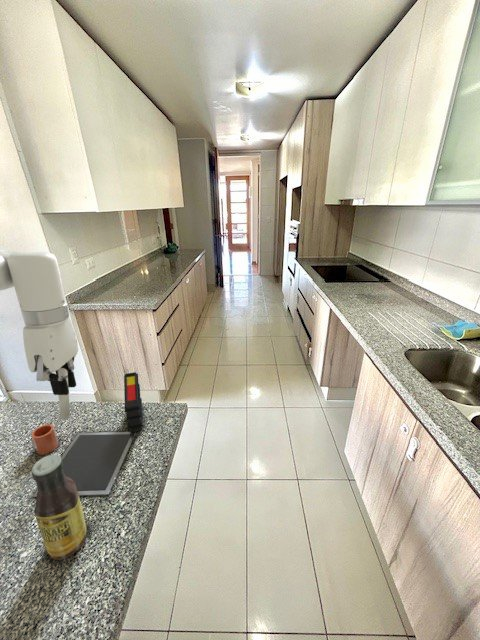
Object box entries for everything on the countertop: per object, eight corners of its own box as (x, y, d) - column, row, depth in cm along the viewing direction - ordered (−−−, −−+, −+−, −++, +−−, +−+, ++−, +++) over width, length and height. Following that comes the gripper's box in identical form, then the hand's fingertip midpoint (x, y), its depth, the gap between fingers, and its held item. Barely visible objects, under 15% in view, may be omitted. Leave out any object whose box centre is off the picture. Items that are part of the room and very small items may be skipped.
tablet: (33, 499, 56) (32, 495, 56) (78, 435, 73) (78, 432, 72) (108, 497, 57) (108, 493, 56) (136, 434, 73) (136, 431, 73)
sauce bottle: (40, 563, 46) (6, 482, 39) (63, 524, 51) (36, 448, 44) (78, 563, 46) (50, 482, 39) (96, 524, 51) (75, 448, 44)
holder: (33, 456, 66) (26, 438, 64) (45, 442, 70) (39, 424, 68) (51, 455, 66) (45, 437, 64) (62, 441, 71) (57, 424, 68)
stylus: (58, 421, 61) (54, 370, 56) (63, 415, 63) (59, 365, 58) (67, 422, 61) (63, 372, 56) (72, 416, 63) (69, 367, 58)
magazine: (141, 397, 86) (137, 370, 76) (144, 436, 77) (139, 411, 67) (129, 399, 85) (123, 373, 75) (131, 439, 76) (124, 415, 66)
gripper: (52, 302, 60) (69, 371, 66) (-6, 329, 45) (22, 414, 52) (86, 303, 60) (98, 371, 67) (38, 329, 45) (60, 414, 52)
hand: (65, 389), depth 59 cm, fingers closed on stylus, 2 cm apart
